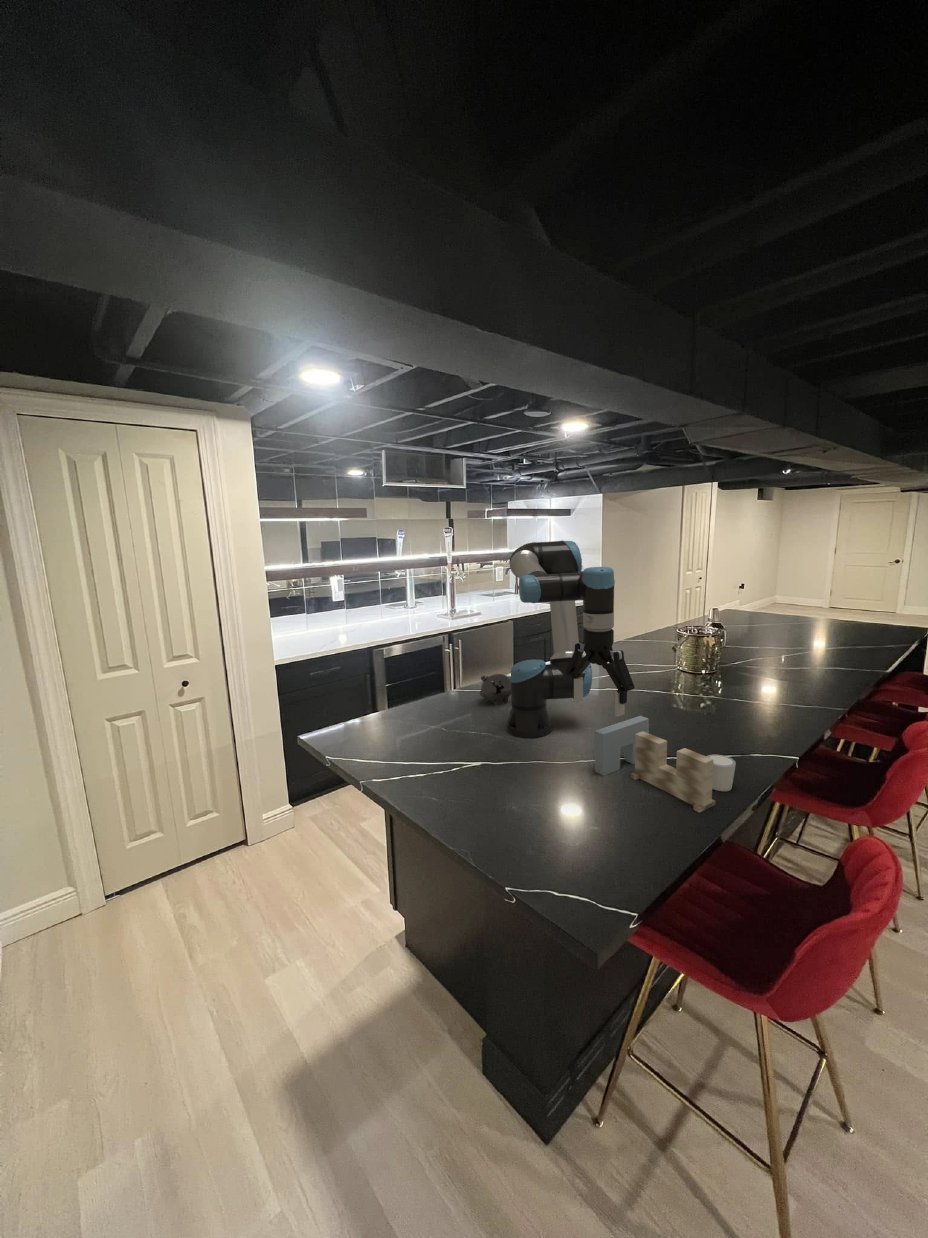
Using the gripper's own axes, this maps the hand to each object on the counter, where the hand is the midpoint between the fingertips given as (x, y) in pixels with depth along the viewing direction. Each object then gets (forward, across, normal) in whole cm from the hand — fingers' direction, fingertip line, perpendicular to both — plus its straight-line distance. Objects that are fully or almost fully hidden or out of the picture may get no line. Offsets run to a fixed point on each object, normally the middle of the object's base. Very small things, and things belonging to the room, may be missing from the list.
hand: (598, 707), depth 125 cm
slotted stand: (+20, +16, +9) cm, 27 cm away
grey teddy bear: (+21, -64, +16) cm, 69 cm away
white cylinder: (+20, +22, +20) cm, 36 cm away
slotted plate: (+20, 0, +11) cm, 23 cm away
